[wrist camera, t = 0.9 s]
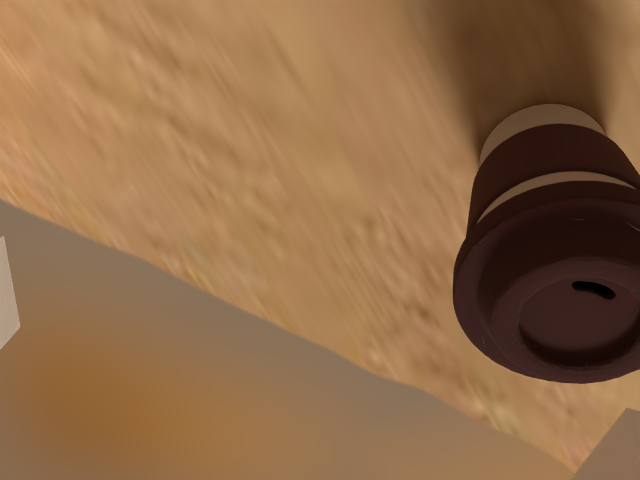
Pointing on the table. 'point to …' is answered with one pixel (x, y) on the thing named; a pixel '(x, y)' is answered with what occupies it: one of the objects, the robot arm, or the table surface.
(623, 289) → the coffee cup
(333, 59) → the table surface
